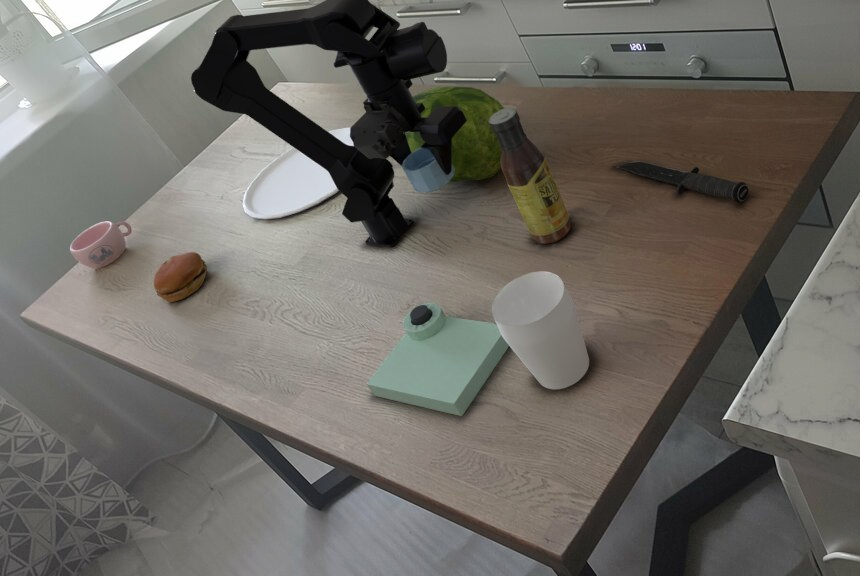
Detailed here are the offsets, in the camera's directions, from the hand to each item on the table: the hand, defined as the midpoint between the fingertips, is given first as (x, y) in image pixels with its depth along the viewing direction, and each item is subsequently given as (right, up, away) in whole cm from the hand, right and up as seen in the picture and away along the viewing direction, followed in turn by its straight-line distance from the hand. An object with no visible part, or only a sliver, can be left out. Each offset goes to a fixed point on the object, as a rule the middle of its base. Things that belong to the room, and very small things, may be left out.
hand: (431, 173), depth 128 cm
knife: (+36, -2, -7) cm, 37 cm away
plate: (-29, +5, +39) cm, 49 cm away
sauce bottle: (+18, -9, -5) cm, 21 cm away
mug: (-71, -11, +45) cm, 84 cm away
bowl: (+1, -1, +1) cm, 2 cm away
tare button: (+1, -21, -15) cm, 26 cm away
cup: (+19, -27, -27) cm, 43 cm away
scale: (+4, -28, -19) cm, 33 cm away
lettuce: (+3, +3, +19) cm, 19 cm away
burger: (-47, -17, +24) cm, 55 cm away
